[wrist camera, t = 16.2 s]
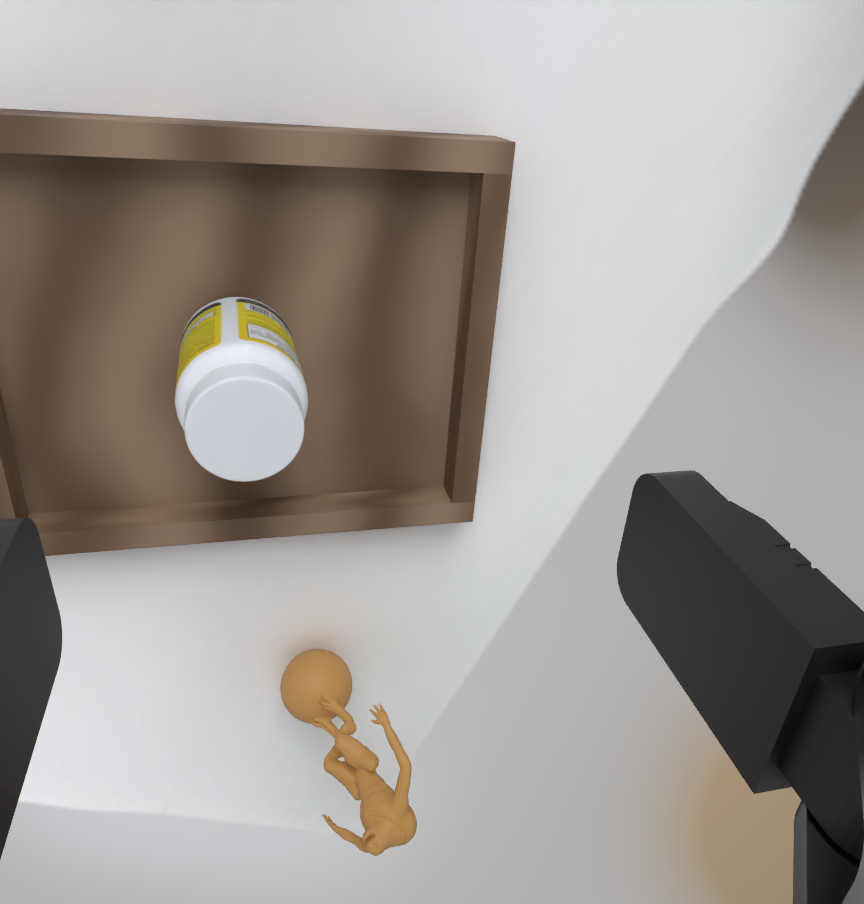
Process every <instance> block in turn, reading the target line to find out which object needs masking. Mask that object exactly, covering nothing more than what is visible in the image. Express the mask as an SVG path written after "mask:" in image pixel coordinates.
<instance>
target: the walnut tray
mask: <svg viewBox="0 0 864 904" xmlns="http://www.w3.org/2000/svg"><path fill="white" fill-rule="evenodd" d="M514 151H515V142H513V141H510V140H506V139H503V138H500V137H497V136H483V135H465V134H447V133H429V132H411V131H393V130H375V129H358V128H340V127H322V126H304V125H286V124H268V123H250V122H232V121H214V120H196V119H178V118H160V117H142V116H125V115H107V114H89V113H71V112H53V111H35V110H17V109H0V520H1V519H15V518H30V519H32V521H33V522H34V523H35V525H36V527H37V529H38V532H39V536H40V540H41V543H42V547H43V551H44V555H45V556H49V555H61V554H74V553H86V552H99V551H111V550H124V549H136V548H148V547H161V546H173V545H186V544H198V543H210V542H223V541H235V540H248V539H260V538H273V537H285V536H297V535H310V534H322V533H335V532H347V531H360V530H372V529H384V528H397V527H409V526H422V525H434V524H447V523H459V522H471V521H473V513H474V504H475V495H476V487H477V478H478V469H479V460H480V451H481V442H482V434H483V425H484V416H485V407H486V398H487V389H488V381H489V372H490V363H491V354H492V345H493V337H494V328H495V319H496V310H497V301H498V292H499V284H500V275H501V266H502V257H503V248H504V239H505V231H506V222H507V213H508V204H509V195H510V187H511V178H512V169H513V160H514ZM228 297H244V298H250V299H254V300H257V301H259V302H262V303H263V304H265V305H267V306H269V307H270V308H272V309H273V310H274V311H275V312H276V313H278V314H279V316H280V317H281V318H282V319H283V320H284V322H285V323H286V325H287V327H288V328H289V331H290V333H291V335H292V339H293V342H294V346H295V349H296V352H297V356H298V359H299V362H300V365H301V369H302V372H303V376H304V379H305V383H306V387H307V393H308V409H307V414H306V417H305V420H304V437H303V441H302V444H301V447H300V449H299V451H298V453H297V455H296V456H295V458H294V459H293V460H292V461H291V462H290V463H289V464H288V465H287V466H286V467H285V468H284V469H282V470H281V471H279V472H278V473H276V474H274V475H272V476H270V477H267V478H264V479H261V480H256V481H246V482H242V481H232V480H227V479H224V478H221V477H218V476H216V475H214V474H212V473H211V472H209V471H207V470H206V469H205V468H203V467H202V466H201V465H200V464H199V463H198V462H197V461H196V459H195V458H194V457H193V455H192V454H191V452H190V450H189V448H188V446H187V443H186V439H185V431H184V430H183V428H182V426H181V424H180V422H179V419H178V416H177V412H176V407H175V390H176V381H177V372H178V363H179V354H180V345H181V339H182V335H183V332H184V329H185V327H186V325H187V323H188V321H189V320H190V319H191V317H192V316H193V315H194V314H195V313H196V312H197V311H198V310H199V309H201V308H202V307H204V306H205V305H207V304H209V303H211V302H213V301H216V300H219V299H223V298H228Z"/></svg>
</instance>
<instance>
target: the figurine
mask: <svg viewBox="0 0 864 904" xmlns="http://www.w3.org/2000/svg"><path fill="white" fill-rule="evenodd" d="M280 689H281V697H282V700H283V703H284V705H285V707H286V709H287V710H288V711H289V712H290V714H291V715H293V716H294V717H295V718H297V719H298V720H300V721H303V722H306V723H311V724H313V725H314V726H316V727H321V728H323V729H325V730H326V731H327V732H328V733H330V734H331V735H332V736H333V737H334V738H335V745H334V746H333V748H332V749H331V751H330V752H329V753H328V754H327V756H326V757H325V760H324V769H325V771H326V772H328V773H330V774H331V775H333V776H334V777H335V778H336V779H337V780H338V781H339V782H340V783H342V784H343V785H344V786H345V787H346V788H347V790H348V791H349V793H350V794H351V795H352V796H353V798H354V799H356V800H360V799H361V801H362V802H361V804H360V818H361V820H362V821H361V822H362V825H363V827H364V828H365V830H366V831H365V832H364V834H363V838H361V837H359V836H357V835H355V834H354V833H353V832H351V831H349V830H347V829H345V828H341V827H338V826H337V825H336V824H335V823H333V822H332V820H331V818H330V817H329V816H328V817H327V816H326V815H323V814H322V816H323V817H324V819H325V820H326V822H327V823H328V824H329V826H330V827H331V828H332V829H333V830H334V831H335V832H336V833H337V834H338V835H340V836H341V837H342V838H343V839H345V840H347V841H349V842H351V843H353V844H355V845H356V846H357V847H358V848H359V849H360V850H361V851H363V852H366V853H371V854H372V855H375V856H377V855H379V854H381V853H382V852H383V851H384V850H386V849H387V848H390V847H394V846H400V845H404V844H406V843H408V842H409V841H410V840H411V839H412V838H413V836H414V834H415V832H416V827H417V821H416V817H415V815H414V812H413V810H412V808H411V807H410V806H409V804H408V791H409V786H410V778H411V763H410V760H409V758H408V756H407V754H406V753H405V751H404V749H403V748H402V746H401V743H400V741H399V739H398V737H397V735H396V734H395V732H394V731H393V729H392V727H391V725H390V722H389V719H388V716H387V714H386V712H385V711H384V709H383V707H382V706H381V705H380V704H379V706H380V708H381V710H379V709H378V707H377V706H376V705H374V707H375V709H376V710H377V712H378V713H376V712H374V711H373V710H371V709H369V710H370V711H371V712H372V713H373V714H374V716H375V717H376V718H377V720H371V721H372V722H374V723H376V724H381V725H382V726H383V728H384V731H385V734H386V737H387V739H388V742H389V744H390V746H391V748H392V750H393V751H394V753H395V756H396V759H397V761H398V763H399V766H400V772H399V776H398V780H397V784H396V788H395V791H394V790H393V789H392V788H390V787H389V786H388V785H387V784H386V783H385V781H384V780H383V779H382V778H381V777H380V776H379V775H378V774H377V772H376V770H375V769H376V768H377V766H378V763H379V760H378V757H377V756H376V755H375V754H374V753H373V752H371V751H370V750H369V749H368V748H367V747H366V746H364V745H363V744H361V743H360V742H359V741H358V740H357V739H355V738H353V737H351V736H349V735H352V734H353V733H354V732H355V731H356V724H355V723H354V720H353V718H352V717H351V715H350V714H349V713H348V712H347V711H346V710H345V709H344V708H345V706H346V705H347V703H348V701H349V699H350V696H351V691H352V678H351V674H350V671H349V669H348V667H347V665H346V664H345V662H344V661H343V660H342V659H341V658H340V657H339V656H338V655H336V654H334V653H332V652H330V651H327V650H322V649H314V650H309V651H306V652H303V653H301V654H300V655H298V656H297V657H295V658H294V659H293V660H292V661H291V662H290V663H289V664H288V666H287V667H286V669H285V671H284V673H283V676H282V680H281V687H280ZM336 716H338V717H340V718H341V719H342V720H343V721H344V722H345V723H344V724H343V725H342V727H341V728H340V729H339V730H338V729H337V728H336V726H335V725H334V724H333V723H332V722H331V719H333V718H334V717H336ZM342 756H343V757H344V759H345V761H343V762H341V761H339V760H338V759H337V758H341V757H342ZM356 768H357V769H356ZM328 818H329V819H328Z"/></svg>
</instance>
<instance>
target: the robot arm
mask: <svg viewBox="0 0 864 904" xmlns="http://www.w3.org/2000/svg"><path fill="white" fill-rule="evenodd" d="M617 577H618V584H619V587H620V591H621V594H622V596H623V598H624V601H625V602H626V604H627V606H628V607H629V609H630V610H631V612H632V613H633V614H634V616H635V618H636V619H637V620H638V622H639V624H640V625H641V626H642V628H643V629H644V631H645V632H646V634H647V635H648V637H649V638H650V640H651V641H652V643H653V644H654V646H655V647H656V649H657V650H658V652H659V653H660V655H661V656H662V658H663V659H664V661H665V662H666V664H667V665H668V667H669V668H670V670H671V671H672V672H673V674H674V675H675V677H676V679H677V680H678V682H679V683H680V685H681V686H682V687H683V689H684V690H685V692H686V693H687V695H688V696H689V698H690V699H691V701H692V702H693V704H694V705H695V707H696V708H697V710H698V711H699V713H700V714H701V716H702V717H703V718H704V720H705V722H706V723H707V725H708V726H709V728H710V729H711V731H712V732H713V734H714V735H715V737H716V738H717V739H718V741H719V743H720V744H721V746H722V747H723V749H724V750H725V751H726V753H727V754H728V756H729V757H730V759H731V760H732V762H733V763H734V765H735V766H736V768H737V769H738V771H739V772H740V774H741V775H742V777H743V778H744V779H745V781H746V783H747V784H748V786H749V787H750V789H751V790H752V792H753V793H754V794H755V793H761V792H766V791H772V790H777V789H783V788H788V787H792V788H793V789H794V790H795V792H796V793H797V794H798V796H799V797H800V798H801V802H800V805H799V807H798V809H797V811H796V814H795V818H794V855H793V856H794V857H793V904H864V612H863V611H862V610H861V609H860V608H859V607H858V606H857V605H856V604H855V603H854V602H852V600H850V599H849V598H848V597H847V596H846V595H845V594H844V593H843V592H842V591H841V590H840V589H839V588H838V587H836V586H835V585H834V584H833V583H832V582H831V581H830V580H829V579H828V578H827V577H826V576H825V575H823V574H822V573H821V572H820V571H819V570H818V569H817V568H813V569H812V567H811V562H809V561H808V560H807V559H806V558H805V557H804V556H803V555H802V554H801V553H800V552H799V551H797V550H796V549H795V548H793V549H791V548H790V543H789V542H788V541H787V540H786V539H785V538H784V537H782V536H781V535H780V534H779V533H778V532H777V531H776V530H775V529H774V528H773V527H772V526H771V525H770V524H768V523H767V522H766V521H765V520H763V519H762V518H760V517H758V516H756V515H755V514H753V513H751V512H749V511H747V510H745V509H744V508H742V507H740V506H738V505H737V504H735V503H733V502H731V501H728V500H727V499H726V498H724V496H723V495H721V494H720V493H719V492H718V491H717V490H716V489H715V488H714V487H713V486H712V485H711V484H710V483H709V482H708V481H707V480H706V479H705V478H704V477H703V476H702V475H700V474H699V473H697V472H695V471H677V472H663V473H650V474H643V475H641V476H640V477H639V478H638V479H637V481H636V483H635V485H634V488H633V492H632V497H631V501H630V506H629V510H628V515H627V519H626V524H625V528H624V533H623V537H622V542H621V546H620V551H619V556H618V561H617ZM61 650H62V626H61V618H60V613H59V609H58V605H57V601H56V597H55V593H54V590H53V586H52V582H51V578H50V574H49V570H48V567H47V563H46V559H45V555H44V551H43V547H42V543H41V540H40V536H39V532H38V529H37V527H36V525H35V523H34V522H33V521H32V519H30V518H15V519H1V520H0V859H1V855H2V852H3V849H4V845H5V842H6V839H7V835H8V831H9V829H10V825H11V822H12V819H13V816H14V812H15V809H16V806H17V802H18V799H19V796H20V793H21V789H22V786H23V783H24V779H25V776H26V773H27V769H28V766H29V763H30V760H31V756H32V753H33V750H34V746H35V743H36V740H37V736H38V733H39V730H40V727H41V723H42V720H43V717H44V713H45V710H46V707H47V703H48V700H49V697H50V693H51V690H52V687H53V684H54V680H55V677H56V674H57V670H58V667H59V663H60V658H61Z"/></svg>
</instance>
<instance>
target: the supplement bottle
mask: <svg viewBox="0 0 864 904" xmlns="http://www.w3.org/2000/svg"><path fill="white" fill-rule="evenodd" d="M175 407H176V412H177V416H178V419H179V422H180V424H181V426H182V428H183V430H184V431H185V439H186V443H187V446H188V448H189V450H190V452H191V454H192V455H193V457H194V458H195V459H196V461H197V462H198V463H199V464H200V465H201V466H202V467H203V468H205V469H206V470H207V471H209V472H211V473H212V474H214V475H216V476H218V477H221V478H224V479H227V480H232V481H242V482H246V481H256V480H261V479H264V478H267V477H270V476H272V475H274V474H276V473H278V472H279V471H281V470H282V469H284V468H285V467H286V466H287V465H288V464H289V463H290V462H291V461H292V460H293V459H294V458H295V456H296V455H297V453H298V451H299V449H300V447H301V444H302V441H303V437H304V420H305V417H306V414H307V409H308V393H307V387H306V383H305V379H304V376H303V372H302V369H301V365H300V362H299V359H298V356H297V352H296V349H295V346H294V342H293V339H292V335H291V333H290V331H289V328H288V327H287V325H286V323H285V322H284V320H283V319H282V318H281V317H280V316H279V314H278V313H276V312H275V311H274V310H273V309H272V308H270V307H269V306H267V305H265V304H263V303H262V302H259V301H257V300H254V299H250V298H244V297H228V298H223V299H219V300H216V301H213V302H211V303H209V304H207V305H205V306H204V307H202V308H201V309H199V310H198V311H197V312H196V313H195V314H194V315H193V316H192V317H191V319H190V320H189V321H188V323H187V325H186V327H185V329H184V332H183V335H182V339H181V345H180V354H179V363H178V372H177V381H176V390H175Z"/></svg>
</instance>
